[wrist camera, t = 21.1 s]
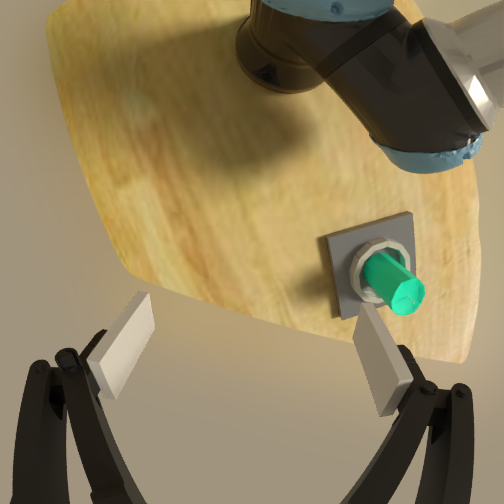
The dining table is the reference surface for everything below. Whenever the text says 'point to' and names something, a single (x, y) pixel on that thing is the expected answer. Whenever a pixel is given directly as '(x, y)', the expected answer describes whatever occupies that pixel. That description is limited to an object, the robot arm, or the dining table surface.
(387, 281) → the candle
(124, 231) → the dining table surface
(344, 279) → the candle stand
